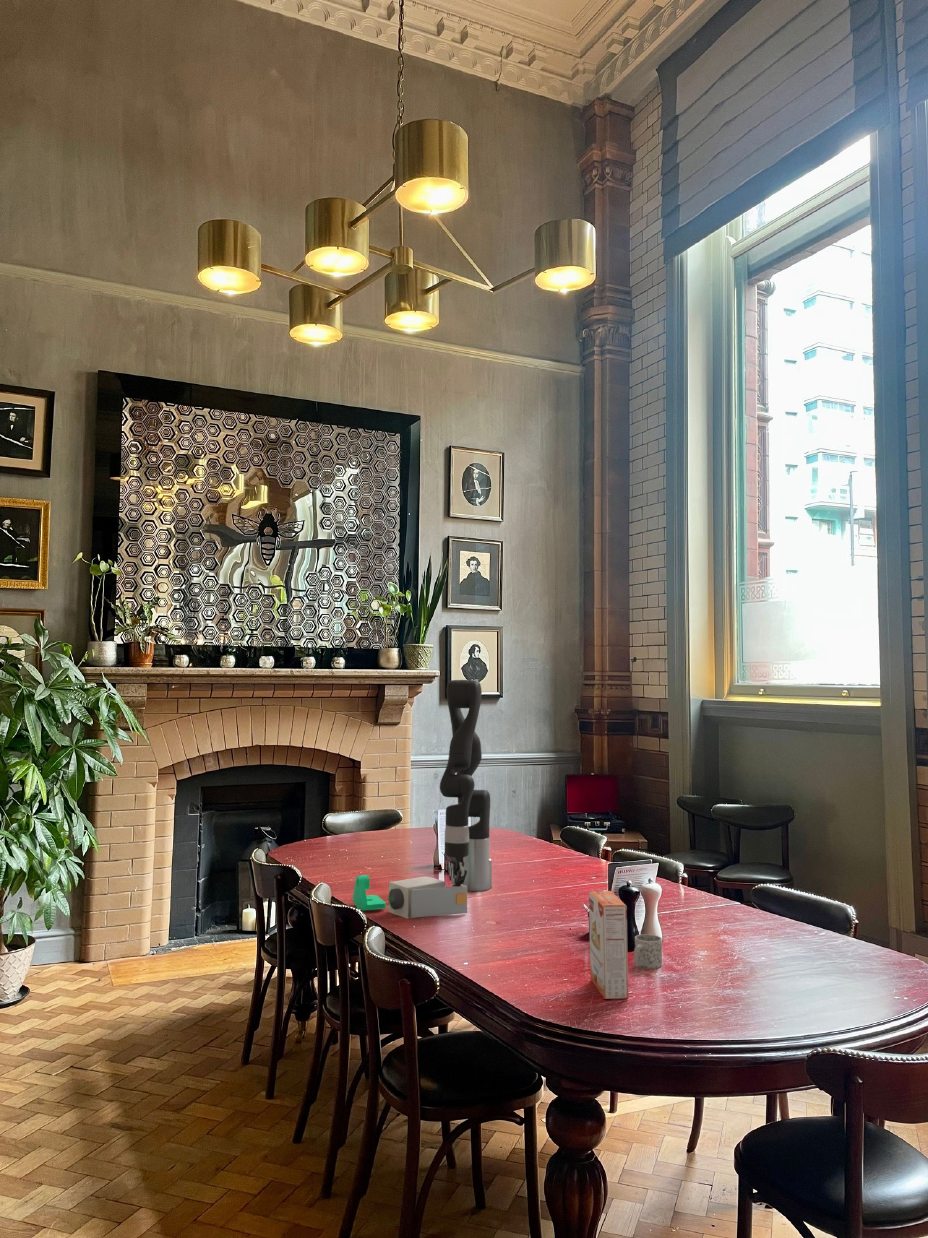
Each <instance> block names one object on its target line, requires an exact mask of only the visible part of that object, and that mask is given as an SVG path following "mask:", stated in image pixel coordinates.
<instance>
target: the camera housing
mask: <svg viewBox="0 0 928 1238" xmlns="http://www.w3.org/2000/svg"><path fill="white" fill-rule="evenodd" d="M439 887H446V881H444V880H441V879H437V878H434V877H430V876H426V875H425V876H420V877H412V878H407V879H400V880H396V881H395V880H394V881H389V882H388V912H389V913H391V914H393V915H396V916H399V917H402V918H405V919H406V920H408V919H410V918H409V890H412V889H426V888H439Z"/></svg>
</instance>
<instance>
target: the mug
mask: <svg viewBox="0 0 928 1238" xmlns="http://www.w3.org/2000/svg"><path fill="white" fill-rule="evenodd" d="M633 950H634V951H633V962H634V966H635V967H636V968H639V969H645V970H658V969H660V968H662V967H663V939H662V937H661V936H659V935H655V934H646V933H645V934H644V933H643V934H637V935H635V936H634V949H633Z"/></svg>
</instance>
